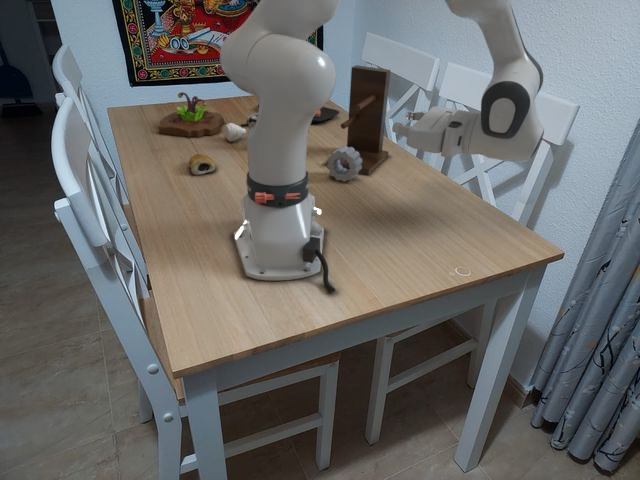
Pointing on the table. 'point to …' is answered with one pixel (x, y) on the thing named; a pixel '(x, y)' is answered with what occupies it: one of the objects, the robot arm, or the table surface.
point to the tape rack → (367, 116)
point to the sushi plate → (319, 115)
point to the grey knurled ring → (338, 169)
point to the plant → (191, 120)
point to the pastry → (201, 164)
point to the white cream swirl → (233, 132)
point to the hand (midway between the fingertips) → (400, 120)
